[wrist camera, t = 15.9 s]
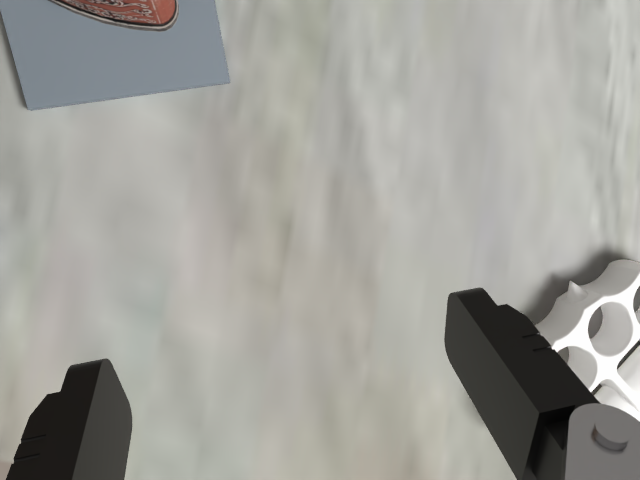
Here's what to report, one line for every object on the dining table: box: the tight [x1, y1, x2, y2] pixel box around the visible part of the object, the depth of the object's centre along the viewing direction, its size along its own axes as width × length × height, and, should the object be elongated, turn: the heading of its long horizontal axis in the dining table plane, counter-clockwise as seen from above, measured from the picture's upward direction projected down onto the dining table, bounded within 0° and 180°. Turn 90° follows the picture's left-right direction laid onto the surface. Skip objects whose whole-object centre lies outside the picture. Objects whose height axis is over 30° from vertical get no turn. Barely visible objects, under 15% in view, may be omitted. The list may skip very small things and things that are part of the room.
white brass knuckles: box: [534, 259, 640, 421], centre depth 40 cm, size 3×18×15 cm
